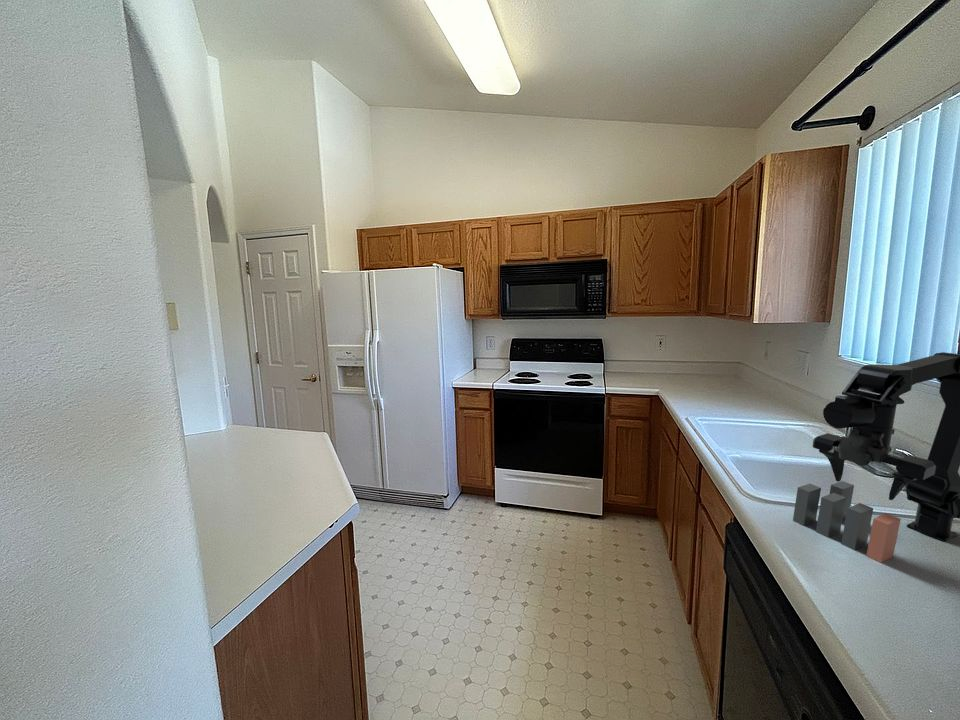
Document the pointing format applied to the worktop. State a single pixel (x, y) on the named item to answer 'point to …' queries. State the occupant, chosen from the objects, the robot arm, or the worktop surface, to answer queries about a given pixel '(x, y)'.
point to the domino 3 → (830, 514)
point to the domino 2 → (843, 493)
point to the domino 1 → (806, 504)
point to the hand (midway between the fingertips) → (863, 490)
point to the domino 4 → (857, 526)
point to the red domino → (883, 537)
